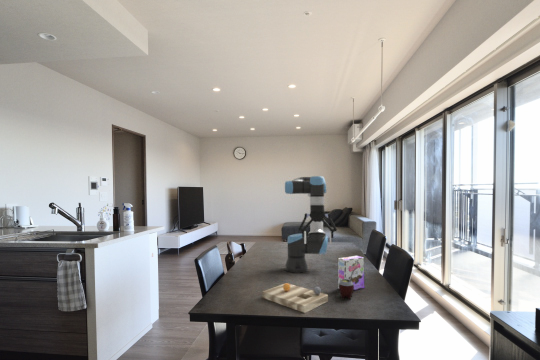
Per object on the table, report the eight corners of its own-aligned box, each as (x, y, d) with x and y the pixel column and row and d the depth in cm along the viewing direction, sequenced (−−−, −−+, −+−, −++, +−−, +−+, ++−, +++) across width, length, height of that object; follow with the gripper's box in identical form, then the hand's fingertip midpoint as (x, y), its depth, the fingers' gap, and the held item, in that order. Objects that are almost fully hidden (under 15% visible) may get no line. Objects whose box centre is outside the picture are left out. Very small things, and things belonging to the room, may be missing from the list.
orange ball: (281, 290, 142) (281, 283, 143) (286, 289, 145) (286, 281, 145) (287, 292, 140) (287, 285, 140) (291, 290, 143) (291, 283, 143)
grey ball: (312, 294, 137) (311, 286, 137) (316, 292, 140) (316, 285, 140) (318, 296, 134) (318, 288, 135) (322, 294, 137) (322, 286, 137)
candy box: (345, 292, 148) (344, 260, 149) (337, 288, 154) (337, 257, 154) (365, 288, 155) (364, 257, 155) (357, 284, 160) (356, 255, 161)
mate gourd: (336, 296, 143) (335, 265, 144) (349, 293, 146) (348, 263, 147) (345, 301, 136) (345, 269, 137) (359, 298, 139) (358, 267, 140)
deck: (262, 297, 142) (262, 291, 142) (286, 288, 154) (286, 282, 155) (304, 313, 123) (304, 305, 124) (328, 301, 136) (328, 294, 136)
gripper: (293, 204, 156) (294, 244, 155) (341, 204, 151) (341, 245, 150) (295, 204, 163) (295, 242, 162) (340, 204, 158) (341, 243, 157)
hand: (317, 243), depth 156 cm, fingers open, 13 cm apart
